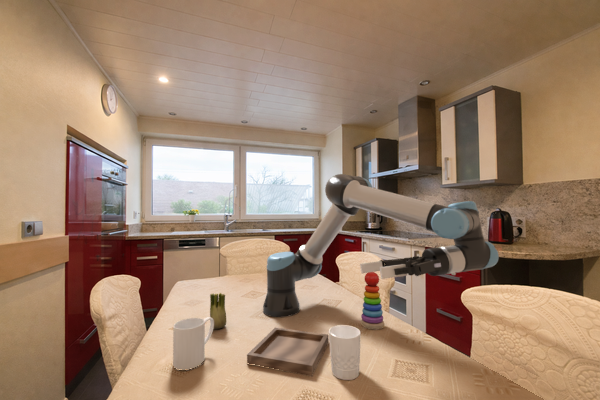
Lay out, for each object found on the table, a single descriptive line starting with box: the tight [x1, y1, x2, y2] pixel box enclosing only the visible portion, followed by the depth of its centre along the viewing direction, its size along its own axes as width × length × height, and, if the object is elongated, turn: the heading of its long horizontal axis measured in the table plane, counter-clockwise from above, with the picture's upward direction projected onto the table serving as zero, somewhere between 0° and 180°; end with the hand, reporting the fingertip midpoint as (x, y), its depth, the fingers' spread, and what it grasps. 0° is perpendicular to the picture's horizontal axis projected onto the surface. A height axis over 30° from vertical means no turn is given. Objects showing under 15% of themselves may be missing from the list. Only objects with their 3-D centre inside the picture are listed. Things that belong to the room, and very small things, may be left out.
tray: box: [246, 327, 330, 377], centre depth 77 cm, size 18×18×2 cm
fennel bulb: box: [209, 292, 227, 330], centre depth 96 cm, size 6×5×12 cm
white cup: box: [328, 324, 361, 381], centre depth 67 cm, size 8×8×10 cm
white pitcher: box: [172, 316, 214, 370], centre depth 74 cm, size 12×8×10 cm, turn 150°
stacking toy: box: [360, 272, 385, 330], centre depth 95 cm, size 8×8×19 cm
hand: (370, 270), depth 72 cm, fingers open, 13 cm apart
